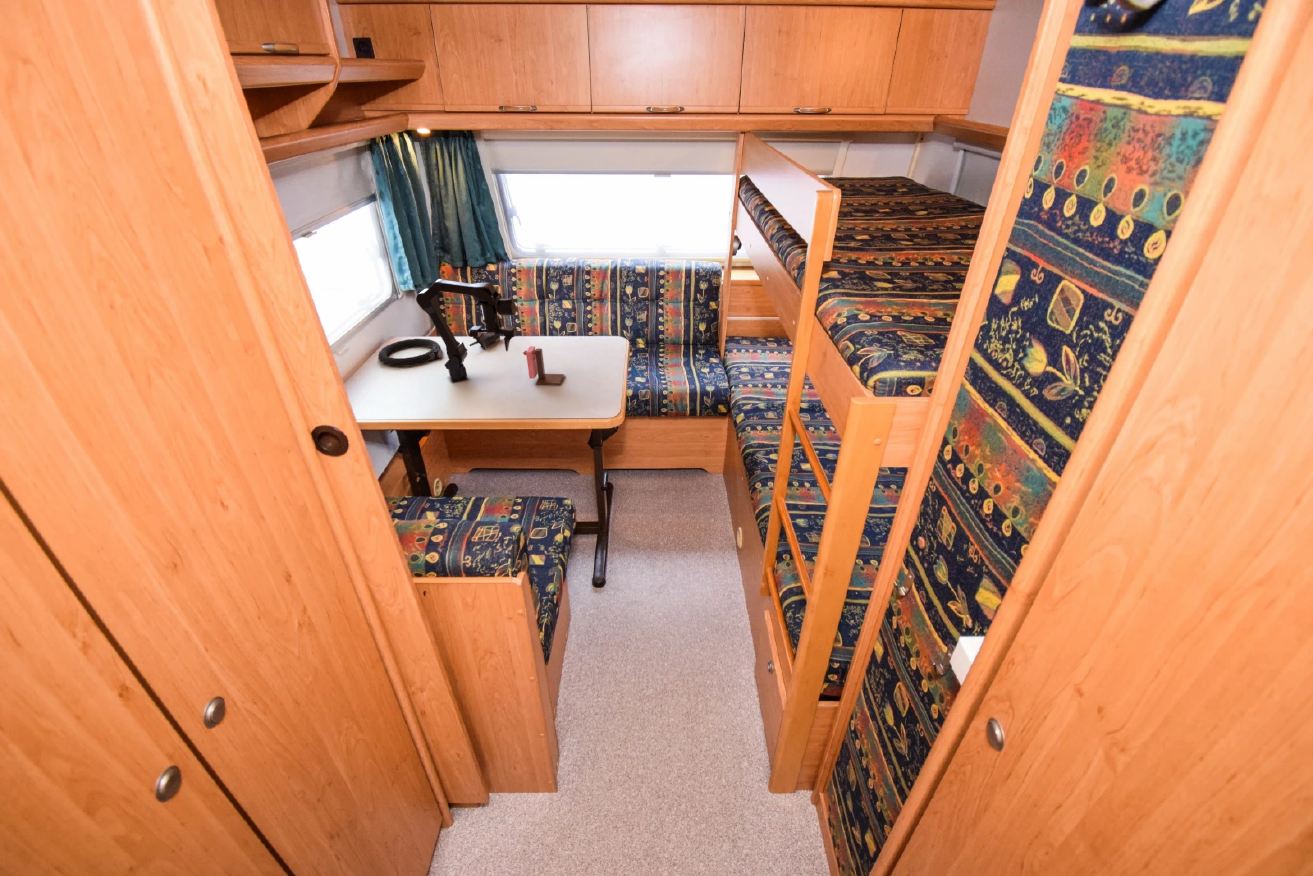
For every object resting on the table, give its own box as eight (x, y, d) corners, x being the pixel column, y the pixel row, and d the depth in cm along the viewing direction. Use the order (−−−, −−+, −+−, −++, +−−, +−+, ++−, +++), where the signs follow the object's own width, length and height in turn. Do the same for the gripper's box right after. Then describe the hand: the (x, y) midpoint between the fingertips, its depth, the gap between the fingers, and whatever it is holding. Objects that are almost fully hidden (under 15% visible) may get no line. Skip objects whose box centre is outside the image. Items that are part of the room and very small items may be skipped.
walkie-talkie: (503, 335, 289) (480, 347, 272) (497, 343, 292) (473, 355, 275) (495, 326, 288) (471, 337, 271) (488, 334, 291) (464, 345, 274)
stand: (524, 384, 246) (519, 353, 239) (529, 375, 254) (525, 345, 247) (559, 385, 245) (556, 354, 238) (564, 376, 253) (560, 345, 246)
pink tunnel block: (529, 378, 246) (525, 352, 240) (533, 372, 252) (529, 346, 245) (534, 378, 246) (531, 352, 240) (538, 372, 251) (534, 346, 245)
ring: (399, 335, 286) (455, 339, 281) (401, 342, 288) (456, 346, 283) (364, 357, 263) (424, 362, 258) (366, 365, 265) (426, 370, 260)
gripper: (518, 308, 242) (523, 344, 251) (474, 308, 244) (481, 343, 252) (510, 318, 233) (516, 354, 241) (465, 317, 234) (472, 353, 242)
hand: (496, 350), depth 244 cm, fingers open, 9 cm apart
